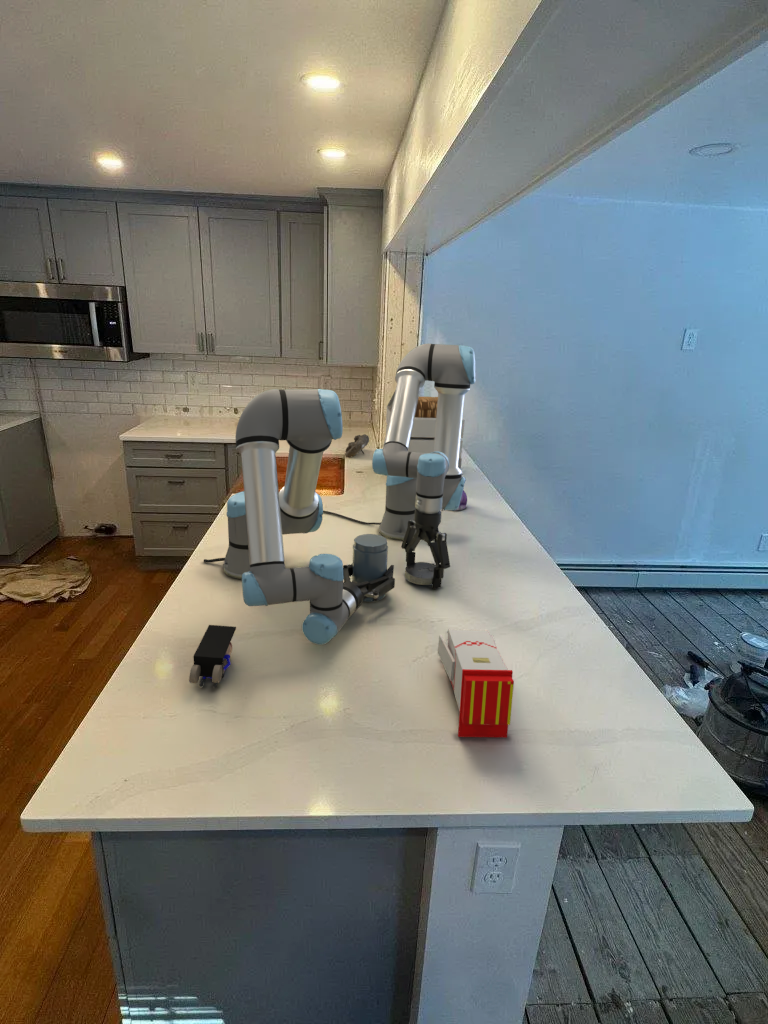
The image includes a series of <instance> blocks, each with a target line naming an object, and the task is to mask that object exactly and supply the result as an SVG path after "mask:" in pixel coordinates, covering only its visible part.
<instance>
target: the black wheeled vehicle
mask: <svg viewBox="0 0 768 1024" xmlns="http://www.w3.org/2000/svg"><path fill="white" fill-rule="evenodd" d="M236 630H237V627H236V626H231V625H217V624H208V626H207V628H206V629H205V632H204V634H203V636H202V638H201V640H200V642H199V644H198V646H197V648H196V650H195V652H194V654H193V656H192V658H193V664H192V666H191V668H190V670H189V676H188V677H189V679H188V680H189V683H190V684H191V683H193V684H197V683H198V682H199V681H200V682H199V688H203V687H204V684H205V683H206V679H210V680H211V682H212V683H213V688H215V689H216V688H217V687H218V684H220V682H221V681H222V679H224V677H225V676H224V675H225V671H226V670H227V669H228V668H229V667H230V666H231V659H230V658H231V654H232V652H233V643H232V639H233V638H234V635H235V632H236ZM224 661H226V664H225V665H224ZM200 677H201V680H200Z"/></svg>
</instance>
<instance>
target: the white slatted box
mask: <svg viewBox="0 0 768 1024" xmlns="http://www.w3.org/2000/svg"><path fill="white" fill-rule="evenodd" d="M395 391H396V389H395V390H394V392H393V394H392V395H391V398H390V400H389V402H388V404H387V405H386V413H385V414H386V415H385V423H386V428H385V433H386V432H387V427H388V422H389V418H390V413H391V409H392V404H393V400H394V395H395ZM437 403H438V396H419V398H418V403H417V408H416V413H415V418H414V423H413V428H412V433H411V438H410V443H409V449H408V452H416V453H427V454H428V453H431V452H433V451H434V439H435V427H436V415H437ZM464 429H465V419H464V418H462V428H461V438H460V449H459V460H458V468H459V469H460V470H461V471H462V461H463V460H462V453H463V442H464V441H463V440H462V439H463V438H464V431H465V430H464Z"/></svg>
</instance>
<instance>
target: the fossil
mask: <svg viewBox="0 0 768 1024" xmlns="http://www.w3.org/2000/svg"><path fill="white" fill-rule="evenodd" d="M353 440H354V441H350V442H348V444H347V445H348V446H347V447H346V449H345V453H344V455H345V457H346V458H352V457H355V456H356V455H358V454H359V453H361V452H362V454H363V455H364V454H365V453H364V451H363V450H364V449H365V447H367V446H368V444H369V443H370V436H369V435H368V434H365V433H364V434H362V435H361V434H357V435H355V436H354V437H353Z"/></svg>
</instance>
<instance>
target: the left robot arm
mask: <svg viewBox="0 0 768 1024" xmlns="http://www.w3.org/2000/svg"><path fill="white" fill-rule="evenodd" d="M343 427H344V426H343V416H342V407H341V402H340V398H339V395H338V394H337V393H336V392H335V391H334V390H332V389H321V388H316V389H315V388H310V389H309V388H307V389H303V388H302V389H301V388H300V389H278V388H273V389H268V390H264V391H262V392H259V393H258V394H256V395H255V396H254V397H253V398H251V400H249V402H248V403H247V405H246V406H245V407H244V409H243V411H242V412H241V414H240V417H239V419H238V422H237V424H236V430H235V450H236V452H237V453H238V454H239V455H241V456H240V457H241V469H242V482H243V483H242V484H243V491H239V492H237V493H235V494H232V495H231V496H229V498H228V500H227V501H226V517H227V533H228V536H227V537H228V547H227V550H226V554H225V557H217V558H211V559H206V558H204V559H203V563H207V564H208V563H209V564H210V563H216V562H223V572H224V574H226V575H227V576H228V577H229V578H230V577H231V578H233V579H238V580H241V588H242V589H241V590H242V598H243V603H244V605H246V606H247V607H261V606H263V607H264V606H265V607H268V606H271V605H279V604H286V603H287V604H288V603H297V602H306V601H309V613H308V614H307V615H306V616H305V618H304V619H303V622H302V624H301V630H302V633H303V636H304V637H305V639H307V640H308V641H309V642H310V643H312V644H315V645H326V644H328V643H329V642H330V641H331V640H332V639H334V638H335V637H336V636H337V634H338V633H339V632H340V630H341V629H342V628H343V626H344V625H345V624H346V623H347V621H348V620H349V619H350V618H351V617H352V615H353V614H354V613H355V612H357V610H358V609H359V608H360V606H361V605H362V603H363V602H364V601H363V600H364V599H366V598H367V597H370V598H373V602H378V601H379V600H378V599H379V597H381V596H382V595H384V594H385V593H386V594H387V593H389V592H390V591H392V590H393V589H394V588H395V587H396V586H395V585H396V579H395V578H394V571H395V565H394V564H391V565H390V566H389V567H387V571H386V572H385V573H384V574H383V577H381V578H378V579H376V580H373V581H370V582H368V581H365V582H362V583H357V582H354V581H352V580H351V578H352V563H351V564H344V563H343V560H342V559H341V558H340V557H339V556H337V555H335V554H333V553H318V554H317V555H314V556H312V557H311V558H310V559H309V562H308V566H297V567H288V568H287V567H286V564H285V562H286V561H285V550H284V549H285V548H284V539H283V535H294V534H295V535H296V534H308V533H315V532H317V531H318V530H319V529H320V527H321V525H322V522H323V514H324V512H323V511H324V507H323V500H322V497H321V495H320V494H319V493H317V492H316V489H317V484H318V480H319V475H320V470H321V465H322V462H323V461H322V460H323V455H324V452H325V451H327V450H328V449H329V448H330V446H331V444H332V442H333V440H334V441H336V440H340V439H341V438H342V437H343V432H344V431H343ZM280 441H286V443H287V445H288V446H289V448H288V457H287V464H286V473H285V480H284V486H283V487H282V488H281V489H280V490H279V480H278V468H277V455H276V453H277V452H278V451H279V449H280Z"/></svg>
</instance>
